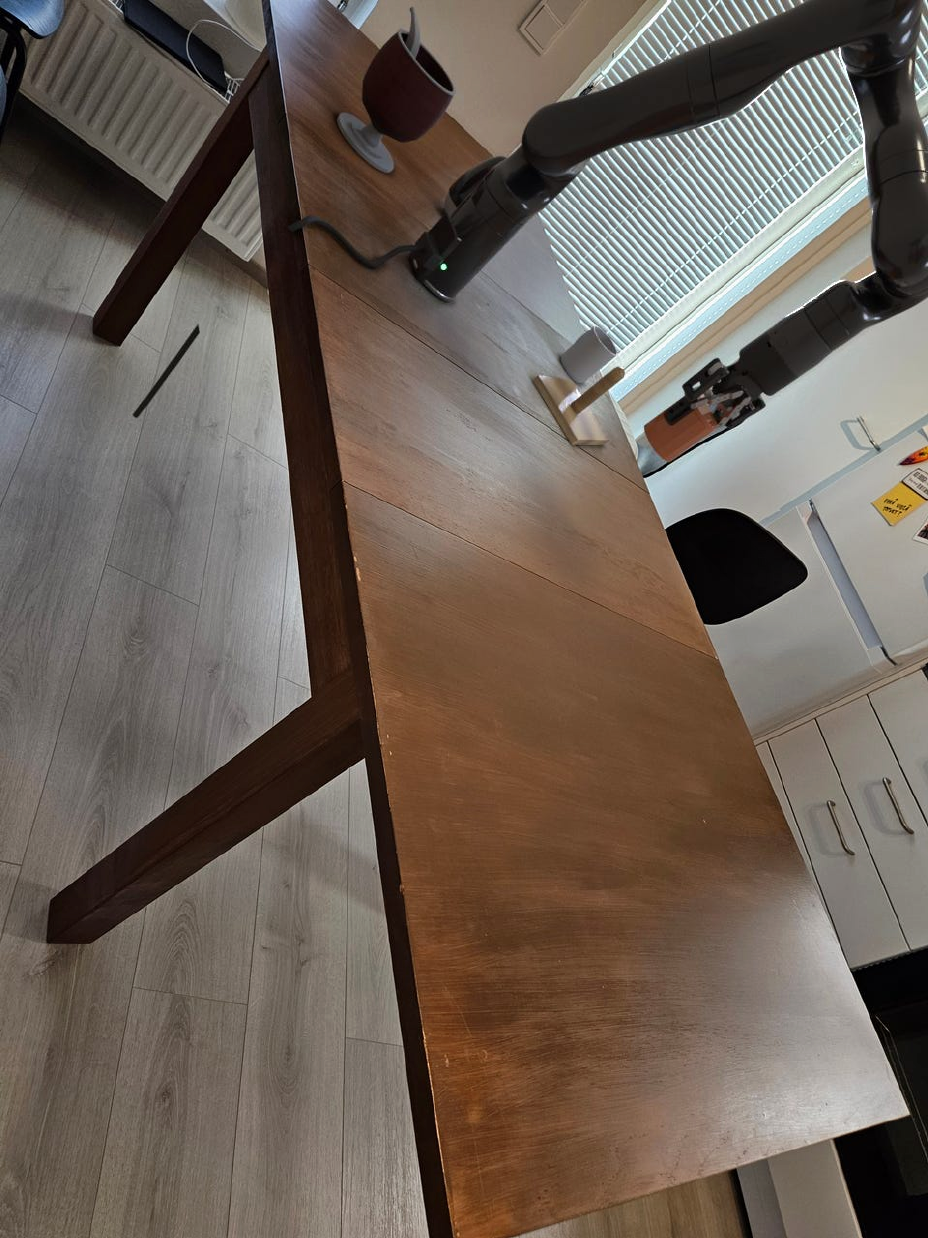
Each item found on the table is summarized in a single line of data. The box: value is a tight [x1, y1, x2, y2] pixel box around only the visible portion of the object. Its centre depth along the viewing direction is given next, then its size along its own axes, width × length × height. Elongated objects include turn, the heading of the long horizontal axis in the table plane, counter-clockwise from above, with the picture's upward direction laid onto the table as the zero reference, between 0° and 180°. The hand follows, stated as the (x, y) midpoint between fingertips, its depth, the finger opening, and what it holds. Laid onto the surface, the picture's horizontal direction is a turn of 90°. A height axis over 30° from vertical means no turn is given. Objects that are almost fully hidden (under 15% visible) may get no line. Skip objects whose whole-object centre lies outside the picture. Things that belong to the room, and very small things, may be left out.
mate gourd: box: [336, 6, 457, 174], centre depth 137 cm, size 16×14×20 cm
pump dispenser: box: [443, 155, 508, 214], centre depth 152 cm, size 10×10×15 cm
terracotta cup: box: [643, 395, 719, 463], centre depth 114 cm, size 6×6×8 cm
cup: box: [560, 325, 618, 384], centre depth 160 cm, size 7×10×9 cm
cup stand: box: [532, 365, 626, 446], centre depth 145 cm, size 14×14×13 cm
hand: (679, 427), depth 114 cm, fingers closed on terracotta cup, 6 cm apart
